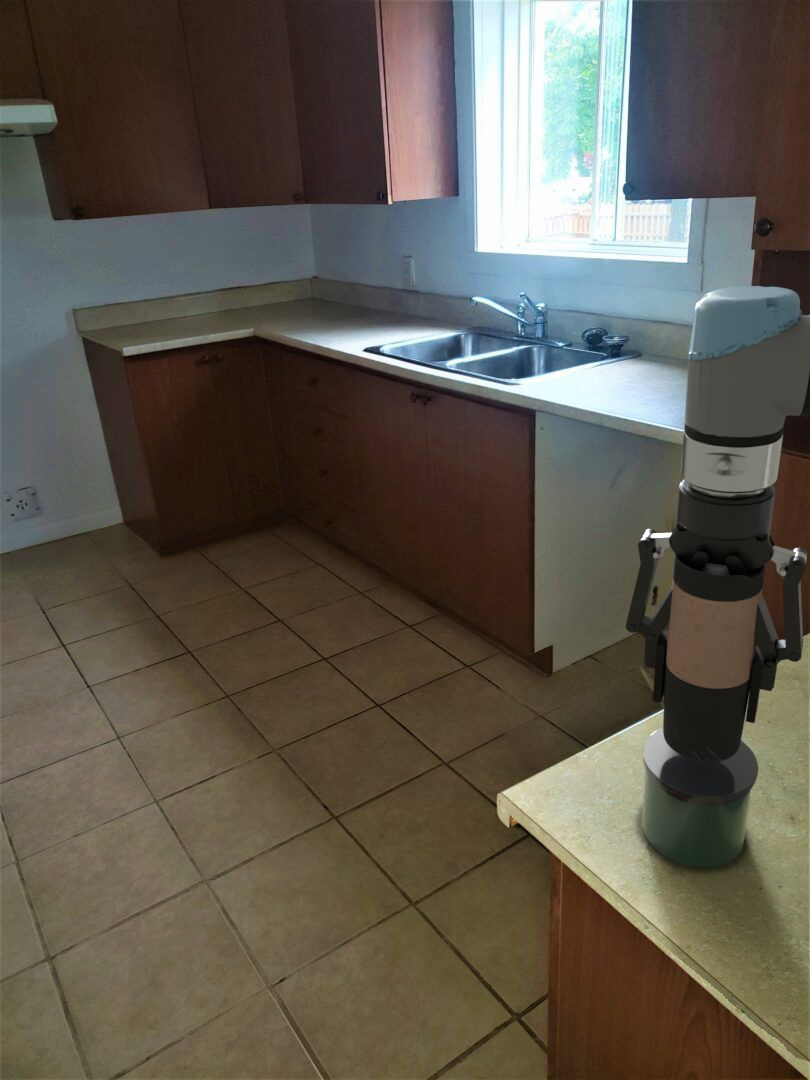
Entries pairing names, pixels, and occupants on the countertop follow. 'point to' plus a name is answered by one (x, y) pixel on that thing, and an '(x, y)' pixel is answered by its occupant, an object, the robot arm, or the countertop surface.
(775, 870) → the countertop surface
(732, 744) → the travel mug
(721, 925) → the countertop surface
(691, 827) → the jar
